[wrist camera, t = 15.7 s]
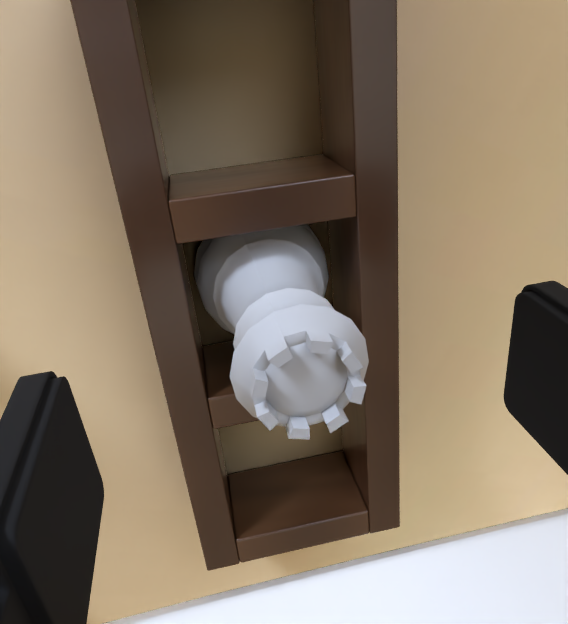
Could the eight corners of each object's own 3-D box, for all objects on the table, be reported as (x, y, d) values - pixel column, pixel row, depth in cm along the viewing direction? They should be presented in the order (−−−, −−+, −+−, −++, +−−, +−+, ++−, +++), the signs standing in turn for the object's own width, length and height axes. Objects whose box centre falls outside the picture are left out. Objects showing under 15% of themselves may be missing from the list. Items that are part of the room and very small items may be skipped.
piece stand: (203, 501, 23) (207, 571, 19) (76, -59, 14) (47, -94, 11) (370, 465, 23) (400, 527, 20) (350, -82, 15) (397, -120, 12)
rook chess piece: (169, 237, 18) (165, 357, 10) (291, 178, 17) (372, 259, 10) (228, 342, 20) (259, 502, 12) (338, 290, 20) (432, 421, 12)
